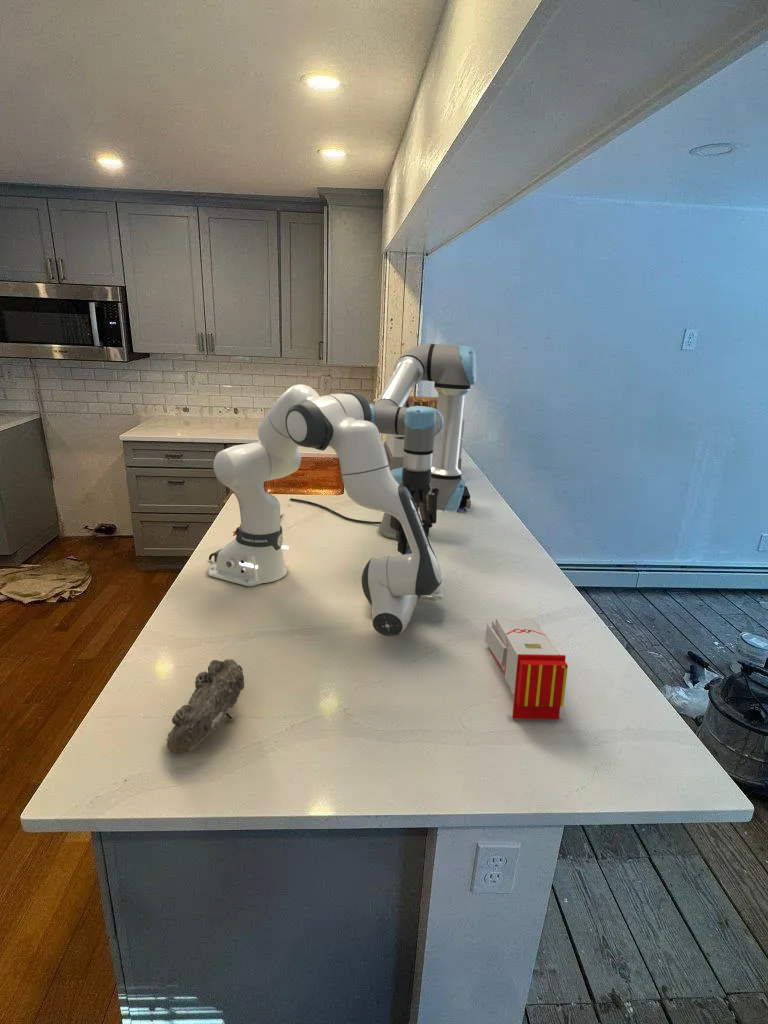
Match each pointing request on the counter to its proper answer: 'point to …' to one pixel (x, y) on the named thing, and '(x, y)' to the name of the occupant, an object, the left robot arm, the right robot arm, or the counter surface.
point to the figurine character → (465, 500)
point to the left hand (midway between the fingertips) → (410, 571)
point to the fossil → (206, 705)
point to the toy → (529, 667)
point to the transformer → (396, 442)
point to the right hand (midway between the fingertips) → (411, 550)
